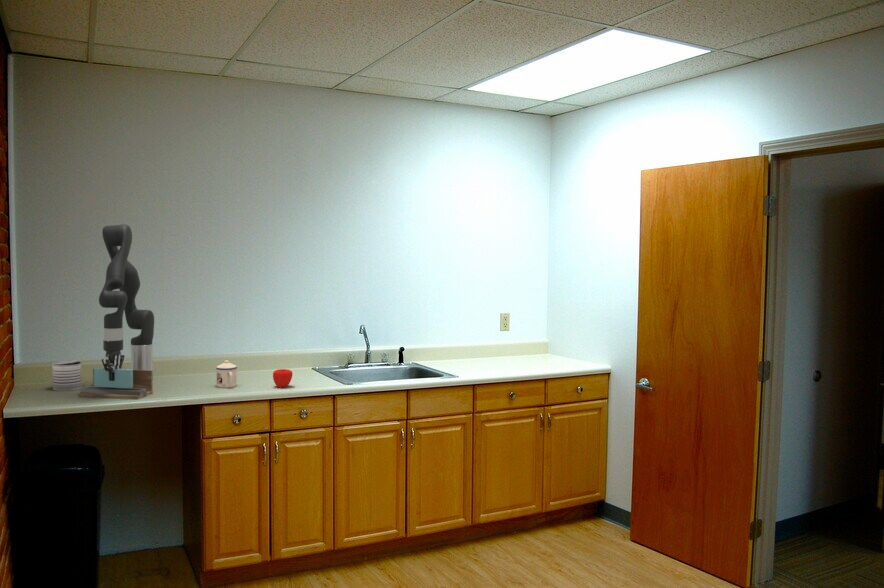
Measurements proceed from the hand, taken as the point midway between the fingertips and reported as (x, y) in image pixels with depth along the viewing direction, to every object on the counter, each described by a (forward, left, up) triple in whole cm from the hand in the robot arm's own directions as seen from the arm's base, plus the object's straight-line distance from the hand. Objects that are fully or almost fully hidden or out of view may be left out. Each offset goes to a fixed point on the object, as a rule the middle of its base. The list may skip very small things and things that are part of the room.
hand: (113, 380), depth 293 cm
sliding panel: (0, 0, -3) cm, 3 cm away
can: (-11, -28, -7) cm, 31 cm away
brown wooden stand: (-2, 0, -7) cm, 7 cm away
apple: (-34, +61, -7) cm, 70 cm away
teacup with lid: (-29, +37, -7) cm, 48 cm away
